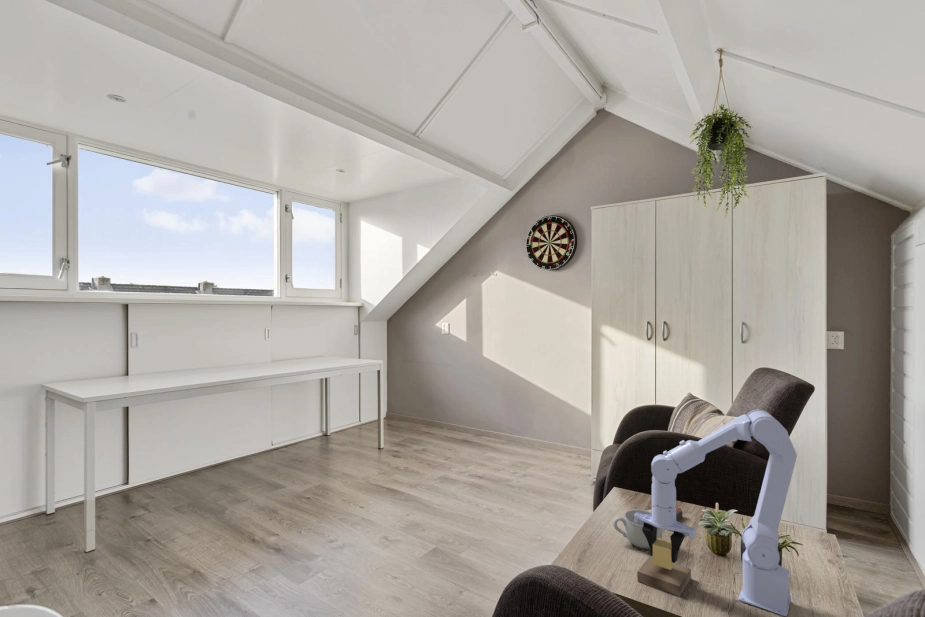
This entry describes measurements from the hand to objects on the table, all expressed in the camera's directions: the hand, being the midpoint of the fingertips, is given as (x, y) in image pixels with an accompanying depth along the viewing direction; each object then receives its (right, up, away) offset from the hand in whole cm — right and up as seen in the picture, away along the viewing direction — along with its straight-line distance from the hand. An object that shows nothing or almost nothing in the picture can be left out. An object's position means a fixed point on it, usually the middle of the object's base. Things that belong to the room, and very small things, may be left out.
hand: (664, 557), depth 119 cm
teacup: (+1, -6, +19) cm, 20 cm away
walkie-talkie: (+13, -7, +34) cm, 37 cm away
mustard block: (0, -2, 0) cm, 2 cm away
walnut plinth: (0, -6, 0) cm, 6 cm away
